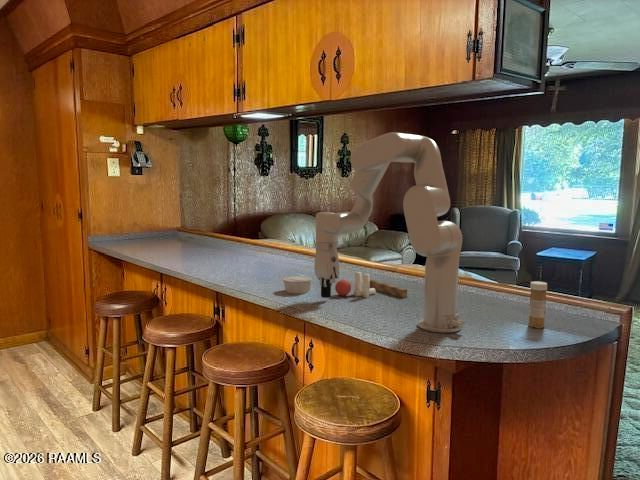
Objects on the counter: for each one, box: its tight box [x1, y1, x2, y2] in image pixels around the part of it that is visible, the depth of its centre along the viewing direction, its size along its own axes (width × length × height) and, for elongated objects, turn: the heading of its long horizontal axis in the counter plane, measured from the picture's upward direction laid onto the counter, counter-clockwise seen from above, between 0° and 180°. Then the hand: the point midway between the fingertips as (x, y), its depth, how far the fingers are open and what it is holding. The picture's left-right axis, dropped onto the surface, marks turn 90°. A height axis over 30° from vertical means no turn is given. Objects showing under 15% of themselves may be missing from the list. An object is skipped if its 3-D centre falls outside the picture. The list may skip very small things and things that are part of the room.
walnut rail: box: [369, 278, 408, 299], centre depth 190 cm, size 22×2×3 cm, turn 32°
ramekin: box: [283, 275, 313, 295], centre depth 190 cm, size 11×11×5 cm
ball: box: [334, 279, 352, 297], centre depth 183 cm, size 6×6×6 cm
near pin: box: [362, 273, 371, 298], centre depth 181 cm, size 2×2×8 cm
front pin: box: [353, 288, 377, 298], centre depth 184 cm, size 2×2×8 cm
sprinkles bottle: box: [528, 280, 548, 329], centre depth 144 cm, size 5×5×13 cm
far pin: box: [354, 271, 362, 291], centre depth 185 cm, size 2×2×8 cm
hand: (325, 296), depth 175 cm, fingers closed
